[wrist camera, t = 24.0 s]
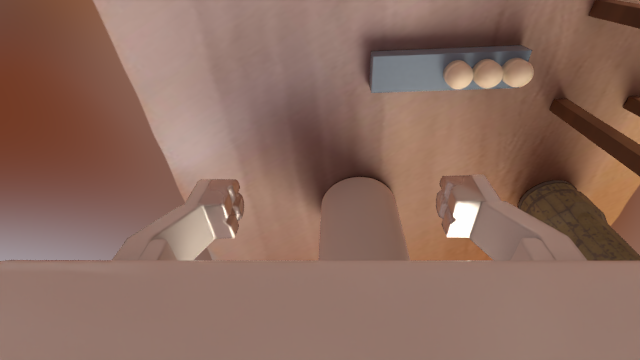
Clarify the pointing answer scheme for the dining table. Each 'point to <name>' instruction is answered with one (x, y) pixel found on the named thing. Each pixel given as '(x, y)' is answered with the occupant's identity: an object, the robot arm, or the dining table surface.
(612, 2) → the crate stand
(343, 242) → the cylinder vase
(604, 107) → the dining table surface
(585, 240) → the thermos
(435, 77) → the egg holder
